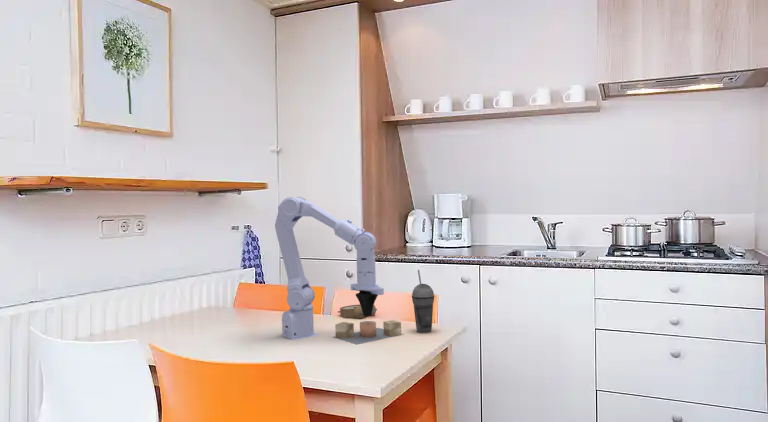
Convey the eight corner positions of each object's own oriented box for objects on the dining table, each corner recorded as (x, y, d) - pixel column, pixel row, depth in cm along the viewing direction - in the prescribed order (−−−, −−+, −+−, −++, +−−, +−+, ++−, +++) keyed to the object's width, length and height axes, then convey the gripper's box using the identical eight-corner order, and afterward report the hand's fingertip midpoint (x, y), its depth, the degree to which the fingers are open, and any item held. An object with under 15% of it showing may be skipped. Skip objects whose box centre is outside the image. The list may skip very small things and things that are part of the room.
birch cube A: (345, 338, 180) (345, 325, 180) (335, 337, 182) (335, 324, 182) (354, 336, 183) (353, 323, 183) (344, 334, 185) (343, 321, 185)
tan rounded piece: (366, 338, 180) (366, 325, 179) (356, 335, 184) (356, 322, 183) (379, 335, 183) (379, 322, 183) (369, 332, 187) (369, 320, 186)
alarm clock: (354, 304, 227) (382, 300, 217) (356, 317, 226) (384, 314, 216) (332, 308, 219) (361, 305, 209) (335, 322, 218) (363, 319, 208)
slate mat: (356, 346, 172) (356, 344, 172) (332, 339, 183) (332, 337, 183) (404, 336, 184) (404, 334, 184) (378, 329, 194) (378, 327, 194)
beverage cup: (434, 336, 182) (432, 271, 182) (410, 335, 184) (408, 271, 183) (437, 330, 190) (435, 268, 189) (414, 330, 191) (412, 268, 191)
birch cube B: (389, 336, 181) (389, 323, 180) (383, 334, 184) (383, 321, 184) (401, 335, 182) (400, 322, 182) (394, 332, 186) (394, 319, 186)
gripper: (391, 272, 179) (392, 317, 180) (362, 268, 191) (363, 310, 191) (372, 274, 175) (373, 320, 175) (344, 270, 186) (345, 313, 187)
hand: (367, 315), depth 183 cm, fingers closed
